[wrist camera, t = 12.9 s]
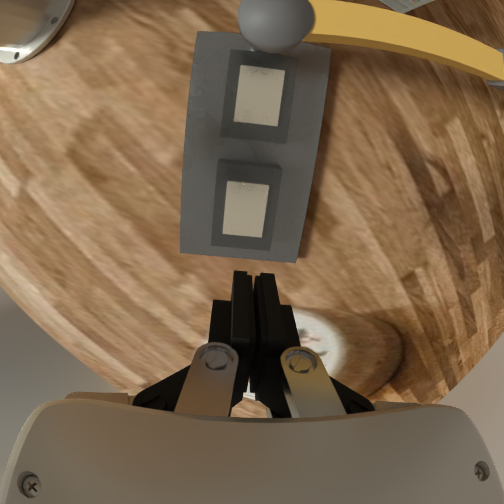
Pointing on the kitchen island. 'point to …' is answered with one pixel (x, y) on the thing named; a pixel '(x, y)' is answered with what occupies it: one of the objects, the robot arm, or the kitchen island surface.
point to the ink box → (404, 4)
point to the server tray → (250, 147)
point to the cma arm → (364, 33)
